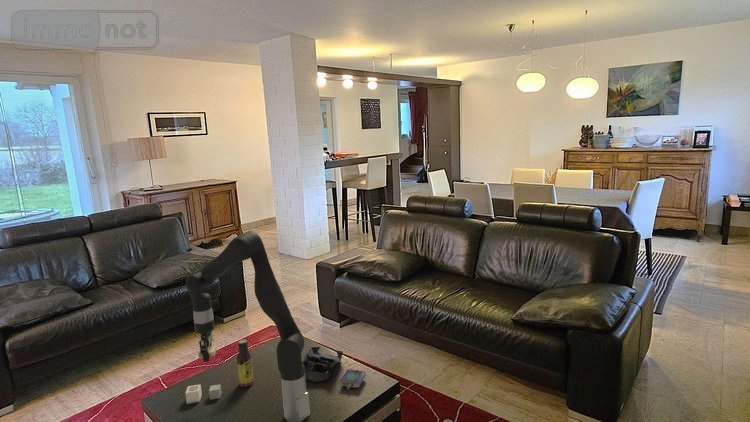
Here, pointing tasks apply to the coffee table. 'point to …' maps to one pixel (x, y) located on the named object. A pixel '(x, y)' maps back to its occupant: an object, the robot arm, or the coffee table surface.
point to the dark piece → (320, 364)
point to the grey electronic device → (352, 378)
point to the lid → (211, 352)
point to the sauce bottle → (244, 365)
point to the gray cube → (215, 391)
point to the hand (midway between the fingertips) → (208, 357)
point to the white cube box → (193, 394)
